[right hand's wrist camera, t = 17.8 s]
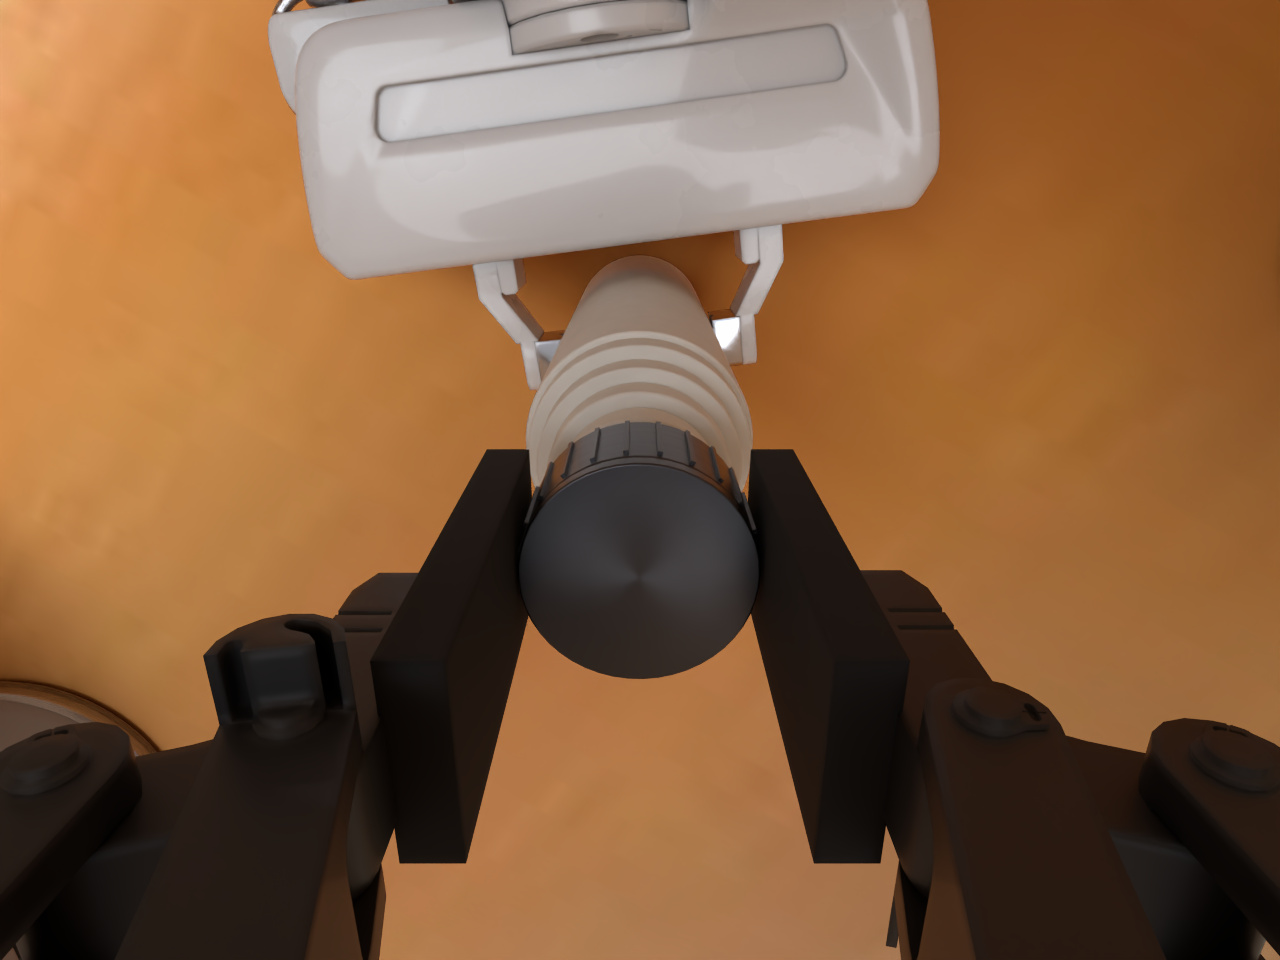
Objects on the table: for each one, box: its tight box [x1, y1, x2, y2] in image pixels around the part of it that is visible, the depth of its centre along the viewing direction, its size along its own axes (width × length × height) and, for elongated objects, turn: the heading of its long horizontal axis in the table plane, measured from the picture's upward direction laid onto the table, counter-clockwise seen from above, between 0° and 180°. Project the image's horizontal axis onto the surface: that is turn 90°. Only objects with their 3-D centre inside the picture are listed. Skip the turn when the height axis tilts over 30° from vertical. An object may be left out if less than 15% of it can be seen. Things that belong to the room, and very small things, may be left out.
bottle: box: [526, 255, 753, 492], centre depth 24 cm, size 5×5×23 cm
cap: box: [517, 421, 761, 679], centre depth 13 cm, size 4×4×2 cm
